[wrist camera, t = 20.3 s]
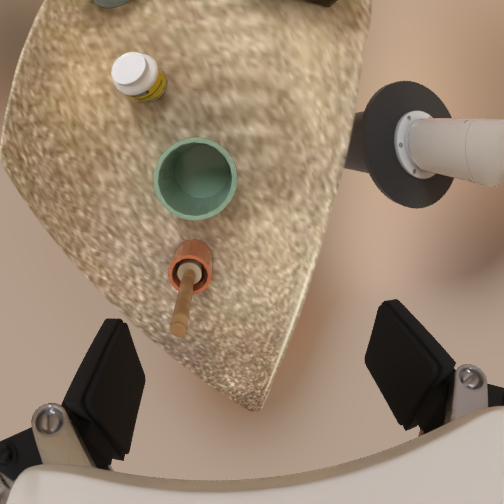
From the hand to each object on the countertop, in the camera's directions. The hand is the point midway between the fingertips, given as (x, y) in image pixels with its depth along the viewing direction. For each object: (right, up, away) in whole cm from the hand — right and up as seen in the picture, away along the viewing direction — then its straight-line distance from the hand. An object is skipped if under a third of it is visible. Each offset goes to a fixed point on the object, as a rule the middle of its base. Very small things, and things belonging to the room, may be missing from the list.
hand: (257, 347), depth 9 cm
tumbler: (-7, +14, +26) cm, 31 cm away
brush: (-9, +2, +30) cm, 31 cm away
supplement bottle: (-14, +26, +21) cm, 36 cm away
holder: (-9, +2, +31) cm, 32 cm away
